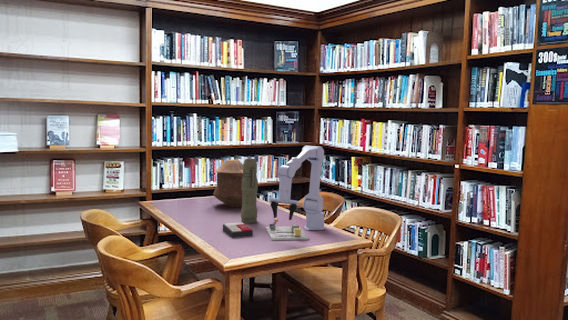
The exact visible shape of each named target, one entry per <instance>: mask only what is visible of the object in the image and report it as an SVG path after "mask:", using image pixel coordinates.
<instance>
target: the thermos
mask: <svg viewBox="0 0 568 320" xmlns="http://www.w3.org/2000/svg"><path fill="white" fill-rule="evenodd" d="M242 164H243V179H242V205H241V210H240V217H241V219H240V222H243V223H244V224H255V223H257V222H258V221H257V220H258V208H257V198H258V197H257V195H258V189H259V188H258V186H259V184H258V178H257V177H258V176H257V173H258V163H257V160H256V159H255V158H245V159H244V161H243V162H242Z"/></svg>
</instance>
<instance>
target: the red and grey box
mask: <svg viewBox="0 0 568 320" xmlns="http://www.w3.org/2000/svg"><path fill="white" fill-rule="evenodd" d="M222 232H224V233H226V234H227V236H229V237H230V238H231V237H232V238H234V239H235V238H245V236H246V237H253V235H254V231H253V229H252V228H251V227H249V226H248V225H247V223H243V222H241V221H240V222H239V221H238V222H230V223H229V222H228V223H227V222H226V223H223V224H222Z"/></svg>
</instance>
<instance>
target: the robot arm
mask: <svg viewBox="0 0 568 320" xmlns="http://www.w3.org/2000/svg"><path fill="white" fill-rule="evenodd" d="M324 157H325V149H324V148H323V146H319V145H318V146H316V145H304V146H303V147H302V149H301V152H300V153H299V154H298V155H297V156H295V157H293V156H292V157H291V159H289V161H288V162H287V161H286V163H285V164H282V165H281V166H279V168H278V169H277V176H278V180H279V185H278V187H279V188H278V198H277V197H269V199H268V200H269V201H268V202H269V203H270V207H271V210H272V213H273V218H274V219H278V218H277V217H278V208H279V206H278V205H279V204H283V205H289V216H288V220H289V221H291V220H292V219H293V216H294V213H295V211H296V209H297V208H298V206H300V201H299V200H294V199H291V194H292V193H291V192H292V183H293V178H294V177H295V174H296V171H297V170H299V169H300V168H301V166H302V163H304V161H306V160H307V161H308V162H310V164H311V168H310V169H311V170H310V177H309V178H310V179H309V188H308V193H307V194H306V195H304V199H303V202H302V207H303V209H304V212H305V225H303V227H304V229H305V230H306V231H324V230H325V214H324V211H323V210H324V205H325V204H324V198H323V197H322V196H321V194H320V187H321V186H320V185H321V184H320V183H321V176H322V175H321V173H322V165H323V162H324V159H325V158H324Z"/></svg>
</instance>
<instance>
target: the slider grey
mask: <svg viewBox="0 0 568 320" xmlns="http://www.w3.org/2000/svg"><path fill="white" fill-rule="evenodd" d="M290 226H291V231H292V232H294V228H298V226H299V225H298V224H297V225H295V224H291V225H290Z"/></svg>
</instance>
